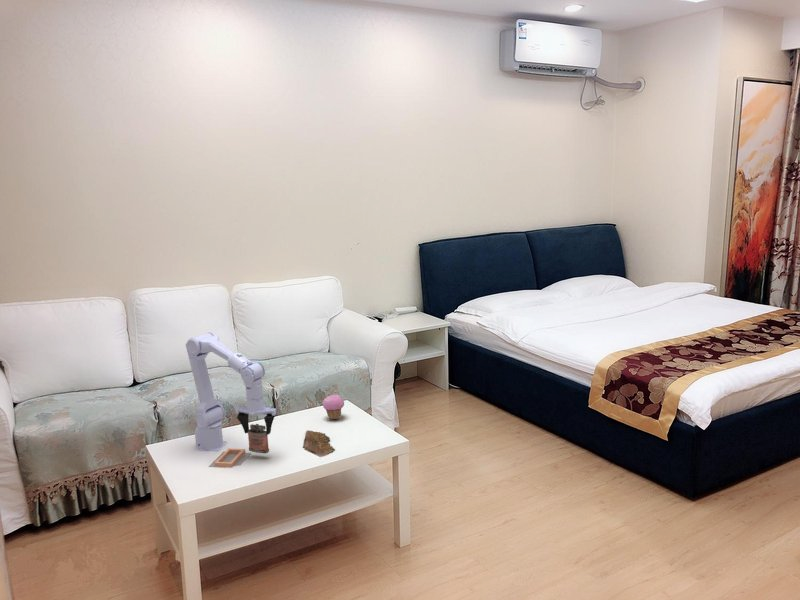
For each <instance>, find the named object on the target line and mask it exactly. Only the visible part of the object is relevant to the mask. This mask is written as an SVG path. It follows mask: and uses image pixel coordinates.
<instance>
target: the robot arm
mask: <svg viewBox="0 0 800 600" xmlns="http://www.w3.org/2000/svg"><path fill="white" fill-rule="evenodd" d="M185 348H186V353H187V357H188V360H189V364H190V367H191V371H192V376H193V381H194V384H195V388H196V391H197V395H198V400H199V402H198V404H197V406H196V407H195V409H194V410H195V421H196V424H197V425H196V428H195V430H194V439H195V446H196V448H195V451H204V452H219V451H220V450H222V449H223V448H224V447H225V446H226V444H228V441H225V440H224V438H223V437H224V435H223V428H222V423H223V420H224V419H225V418H226V411H225V409H224V406H222V403H221V401H220V400H218V399H217V398H215V396H214V395H215V394H214V391H213V390H214V389H213V388H212V386H213V385H212V383H211V379H210V378H211V377H210V374H209V370H208V367H207V363H206V358H207V356H208V355H209V354H210V353H213V354H215V355H216V356H218V357H220V358H222V359H223V360H225V361H227V365H228V366H229V367H230V369H232V370H234V371H236V372H237V373H238V374H240V378H241V380H243V384H244V386H245V392H246V394H245V395H246V404H247V405H246V406H238V407H236V408H235V414H236V415H237V416H236V419H237V420H238V421H239V423H240V424H241V427H242V429H243V432H244V434H248V432H247V431H248V430H249V429H250V425H249V424H250V423H249V416H252V415H253V416H254V415H265V416H264V418H263V420H264V423H265V427H266V429H265V431H266V433H267V434H268V435H270V434H271V431H272V426H273V422H274V419H275V417H276V415H277V408H273V407H268V406H265V404H264V389H263V379H262V378H263V377H264V376H265V374H266V371H265V370H266V369H265V367H264V365H262V363H260V362H259V361H256V362H254V361H252V360H250V359H248V358H247V357H245V356H244V355H243V354H242V353H241V352H233V351H232V350H231V349H229V348H228V347H227V346H226V345H225V344H223V343H222V342H221V341H220V339H219V336H217V335H216V334H214V332H211V331H209V332H207V333H204V334H200V335H198V336H194V337H190V338H188V340H187V341H186V343H185Z"/></svg>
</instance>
